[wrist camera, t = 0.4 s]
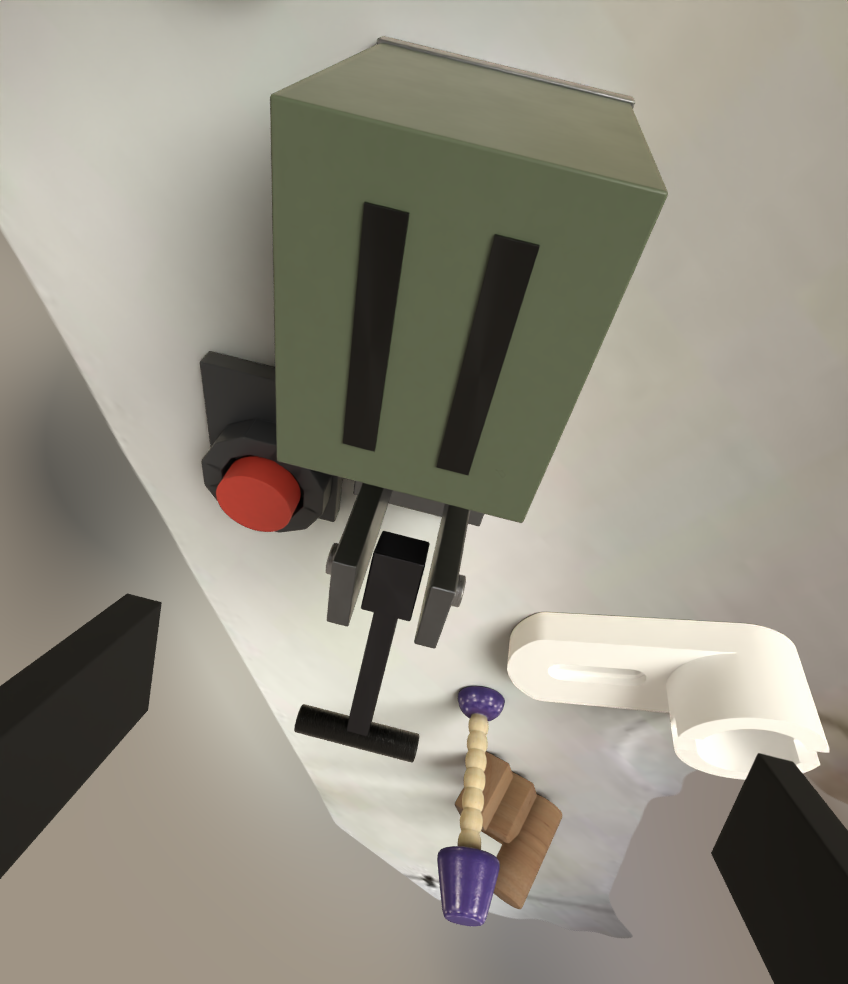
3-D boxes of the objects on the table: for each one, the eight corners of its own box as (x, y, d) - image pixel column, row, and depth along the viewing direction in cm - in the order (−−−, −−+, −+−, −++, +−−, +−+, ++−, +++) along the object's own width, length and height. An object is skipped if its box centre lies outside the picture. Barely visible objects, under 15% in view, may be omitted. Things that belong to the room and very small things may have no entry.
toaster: (382, 35, 20) (262, 88, 12) (633, 97, 20) (677, 190, 12) (355, 320, 28) (272, 465, 20) (536, 366, 28) (524, 529, 20)
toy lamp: (498, 682, 49) (476, 914, 37) (519, 708, 52) (506, 934, 40) (450, 688, 51) (415, 909, 40) (473, 712, 54) (446, 928, 42)
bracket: (813, 627, 37) (850, 726, 32) (779, 694, 43) (806, 786, 38) (506, 609, 42) (498, 694, 37) (512, 672, 48) (506, 751, 43)
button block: (209, 350, 31) (182, 379, 29) (351, 386, 31) (335, 418, 29) (223, 481, 38) (203, 513, 36) (339, 511, 38) (325, 544, 36)
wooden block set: (477, 728, 61) (424, 818, 55) (551, 766, 56) (501, 869, 50) (505, 801, 72) (463, 882, 66) (569, 838, 67) (530, 929, 61)
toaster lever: (415, 740, 29) (410, 777, 27) (303, 711, 29) (288, 745, 27) (470, 552, 26) (469, 576, 23) (342, 519, 26) (328, 540, 23)
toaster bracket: (481, 513, 36) (454, 686, 27) (358, 481, 36) (293, 644, 27) (529, 380, 29) (513, 559, 20) (375, 341, 29) (295, 503, 20)
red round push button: (226, 447, 32) (212, 467, 31) (301, 467, 32) (290, 487, 31) (231, 501, 35) (219, 521, 34) (300, 518, 35) (290, 539, 34)
